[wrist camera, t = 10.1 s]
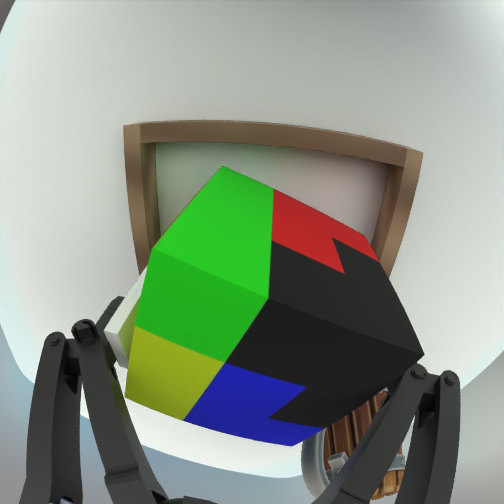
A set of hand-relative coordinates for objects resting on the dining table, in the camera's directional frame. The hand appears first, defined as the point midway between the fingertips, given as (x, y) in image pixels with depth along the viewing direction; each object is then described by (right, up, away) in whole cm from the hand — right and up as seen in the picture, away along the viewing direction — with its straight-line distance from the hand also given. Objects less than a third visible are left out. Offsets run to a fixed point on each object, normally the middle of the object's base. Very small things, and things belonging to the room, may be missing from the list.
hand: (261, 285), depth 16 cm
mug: (+10, -14, +12) cm, 21 cm away
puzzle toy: (0, +1, +2) cm, 3 cm away
